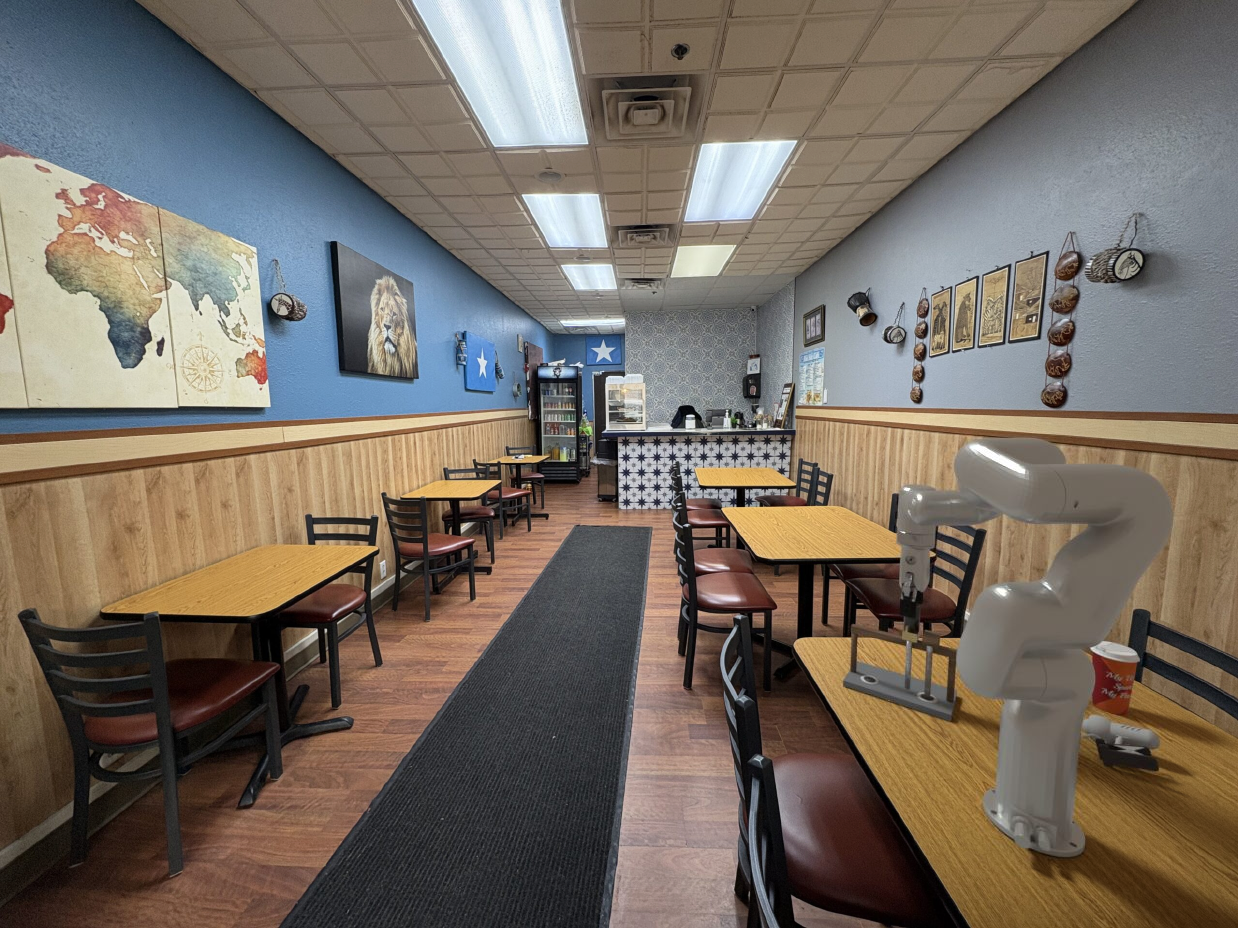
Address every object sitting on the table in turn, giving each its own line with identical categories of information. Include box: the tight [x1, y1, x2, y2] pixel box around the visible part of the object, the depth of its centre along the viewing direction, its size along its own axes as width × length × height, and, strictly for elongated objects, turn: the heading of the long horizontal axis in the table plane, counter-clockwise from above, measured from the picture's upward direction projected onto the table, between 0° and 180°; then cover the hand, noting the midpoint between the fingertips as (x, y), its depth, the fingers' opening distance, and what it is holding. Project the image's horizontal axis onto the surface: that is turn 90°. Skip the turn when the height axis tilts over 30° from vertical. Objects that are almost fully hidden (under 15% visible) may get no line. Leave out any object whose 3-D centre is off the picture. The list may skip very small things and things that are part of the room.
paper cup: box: [1090, 640, 1141, 716], centre depth 107 cm, size 8×8×14 cm
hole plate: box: [842, 660, 958, 722], centre depth 116 cm, size 12×22×2 cm, turn 50°
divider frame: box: [849, 623, 957, 703], centre depth 115 cm, size 4×22×14 cm, turn 50°
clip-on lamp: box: [1080, 714, 1161, 772], centre depth 96 cm, size 12×6×18 cm
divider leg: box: [901, 604, 922, 690], centre depth 113 cm, size 4×3×20 cm
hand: (911, 609), depth 113 cm, fingers open, 9 cm apart
